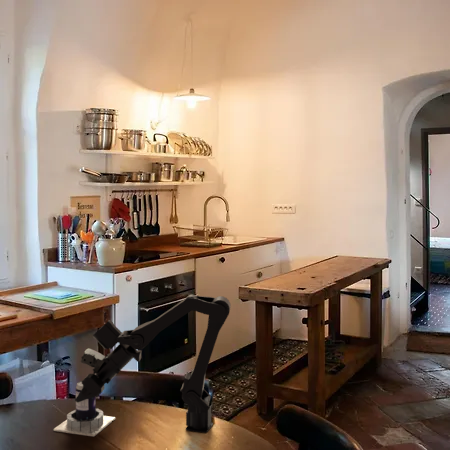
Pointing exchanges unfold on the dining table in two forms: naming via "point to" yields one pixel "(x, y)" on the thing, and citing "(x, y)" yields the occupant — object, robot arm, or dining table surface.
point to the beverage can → (85, 406)
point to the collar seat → (84, 424)
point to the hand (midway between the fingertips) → (80, 396)
